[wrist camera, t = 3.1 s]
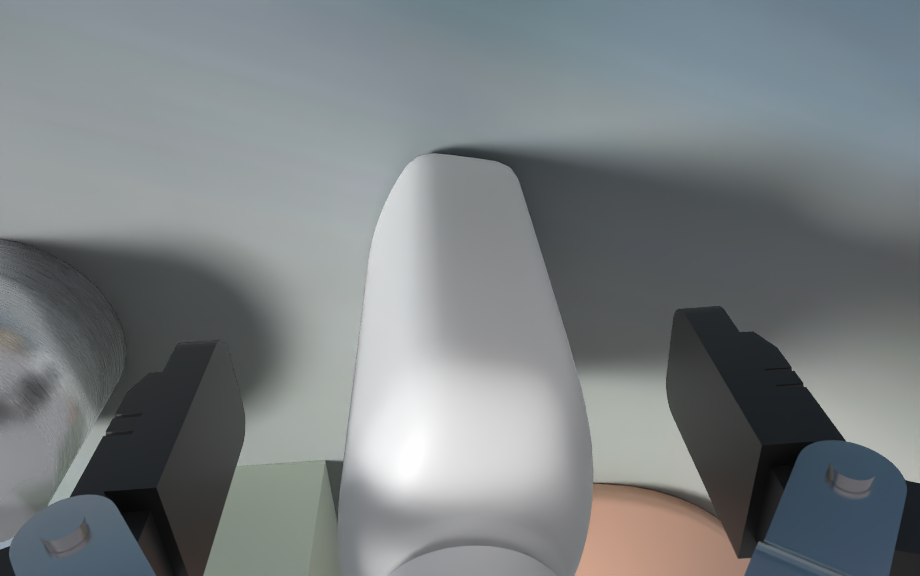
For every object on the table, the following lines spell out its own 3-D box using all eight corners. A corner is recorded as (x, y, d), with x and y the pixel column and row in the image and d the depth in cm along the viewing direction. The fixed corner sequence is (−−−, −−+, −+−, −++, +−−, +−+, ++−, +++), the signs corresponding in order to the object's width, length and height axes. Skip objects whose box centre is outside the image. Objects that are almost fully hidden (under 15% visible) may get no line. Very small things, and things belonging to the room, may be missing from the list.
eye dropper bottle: (602, 228, 16) (937, 900, 6) (447, 392, 18) (487, 1101, 8) (442, 110, 14) (503, 732, 4) (295, 305, 17) (90, 1039, 6)
